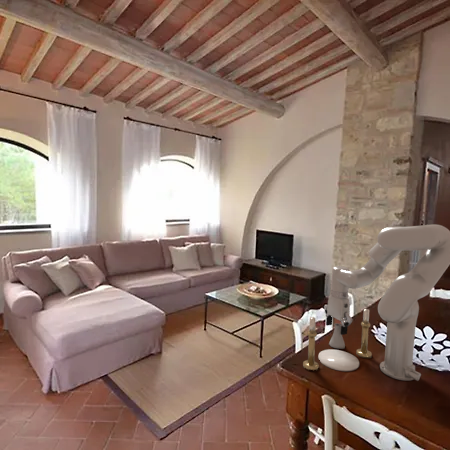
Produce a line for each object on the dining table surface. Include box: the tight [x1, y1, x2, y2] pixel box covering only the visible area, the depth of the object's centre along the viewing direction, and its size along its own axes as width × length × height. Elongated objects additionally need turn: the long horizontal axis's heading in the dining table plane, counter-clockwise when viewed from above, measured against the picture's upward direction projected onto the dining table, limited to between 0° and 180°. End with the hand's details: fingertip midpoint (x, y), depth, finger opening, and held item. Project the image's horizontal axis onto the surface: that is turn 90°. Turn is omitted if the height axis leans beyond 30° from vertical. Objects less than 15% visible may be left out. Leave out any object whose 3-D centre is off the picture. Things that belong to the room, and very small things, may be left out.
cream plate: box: [317, 349, 360, 372], centre depth 132 cm, size 16×16×1 cm
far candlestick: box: [355, 308, 373, 359], centre depth 136 cm, size 6×6×20 cm
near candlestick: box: [302, 316, 319, 372], centre depth 125 cm, size 6×6×20 cm
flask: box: [328, 323, 346, 350], centre depth 145 cm, size 7×7×10 cm
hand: (336, 329), depth 145 cm, fingers open, 9 cm apart
